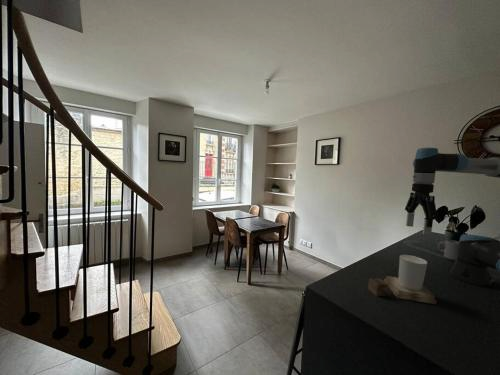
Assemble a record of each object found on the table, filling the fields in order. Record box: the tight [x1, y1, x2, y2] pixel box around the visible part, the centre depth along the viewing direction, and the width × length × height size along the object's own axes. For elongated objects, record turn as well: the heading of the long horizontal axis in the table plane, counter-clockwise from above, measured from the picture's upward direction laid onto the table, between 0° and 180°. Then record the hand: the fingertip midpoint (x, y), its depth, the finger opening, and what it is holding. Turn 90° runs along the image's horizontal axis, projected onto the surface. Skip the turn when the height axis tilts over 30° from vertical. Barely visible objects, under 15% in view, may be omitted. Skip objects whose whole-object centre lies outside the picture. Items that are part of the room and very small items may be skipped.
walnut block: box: [367, 277, 389, 297], centre depth 94 cm, size 5×5×5 cm
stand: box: [383, 275, 437, 305], centre depth 96 cm, size 14×14×3 cm
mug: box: [437, 239, 459, 261], centre depth 143 cm, size 12×8×11 cm
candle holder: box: [397, 254, 428, 291], centre depth 95 cm, size 10×10×12 cm
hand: (417, 230), depth 99 cm, fingers open, 13 cm apart
